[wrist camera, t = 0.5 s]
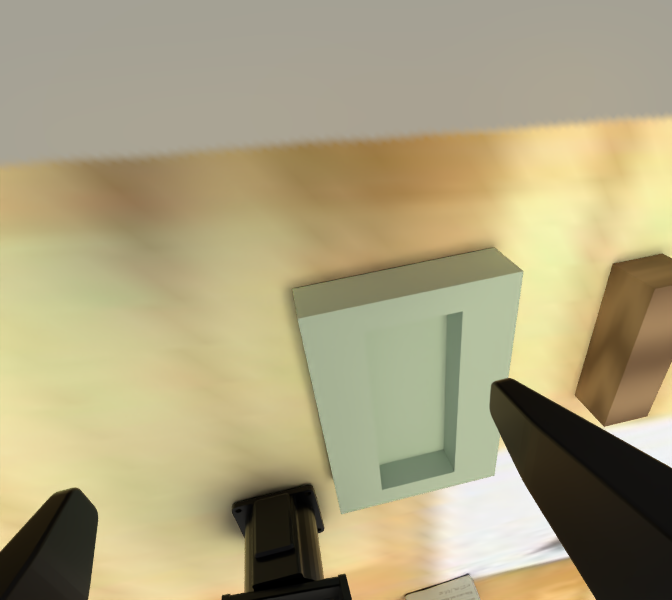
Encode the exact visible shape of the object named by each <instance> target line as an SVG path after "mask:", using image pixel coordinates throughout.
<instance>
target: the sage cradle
mask: <svg viewBox="0 0 672 600" xmlns="http://www.w3.org/2000/svg"><path fill="white" fill-rule="evenodd" d="M522 278H523V270H521V269H520V268H519V267H518V266H517V265H515V264H514V263H513V262H512V261H510V260H509V259H508V258H507V257H506V256H504V255H503V254H502V253H501V252H499V251H498V250H497V249H496V248H495V247H494V248H489V249H484V250H480V251H475V252H470V253H465V254H460V255H455V256H450V257H445V258H440V259H436V260H431V261H426V262H421V263H416V264H411V265H406V266H401V267H397V268H392V269H387V270H382V271H377V272H372V273H367V274H362V275H357V276H353V277H348V278H343V279H338V280H333V281H328V282H323V283H318V284H314V285H309V286H304V287H299V288H294V289H292V290H293V296H294V302H295V307H296V313H297V319H298V323H299V328H300V332H301V337H302V341H303V346H304V350H305V355H306V359H307V363H308V368H309V372H310V377H311V381H312V386H313V390H314V395H315V399H316V404H317V408H318V413H319V417H320V422H321V426H322V431H323V435H324V440H325V444H326V449H327V453H328V457H329V462H330V466H331V471H332V475H333V480H334V484H335V489H336V493H337V498H338V502H339V507H340V511H341V514H344V513H348V512H352V511H356V510H360V509H364V508H368V507H372V506H376V505H380V504H384V503H388V502H392V501H396V500H400V499H404V498H408V497H411V496H415V495H419V494H423V493H427V492H431V491H435V490H439V489H443V488H447V487H451V486H455V485H459V484H463V483H467V482H471V481H475V480H479V479H483V478H487V477H491V476H494V474H495V467H496V460H497V453H498V446H499V439H500V433H499V431H498V429H497V427H496V425H495V423H494V421H493V419H492V416H491V414H490V409H489V403H490V389H491V384H492V383H493V382H494V381H497V380H501V379H505V378H508V376H509V369H510V362H511V355H512V348H513V341H514V334H515V327H516V320H517V313H518V306H519V299H520V292H521V285H522Z"/></svg>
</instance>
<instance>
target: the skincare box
mask: <svg viewBox="0 0 672 600" xmlns="http://www.w3.org/2000/svg"><path fill="white" fill-rule="evenodd" d="M405 599H406V600H480V597H479V595H478V592H477V590H476V587H475V584H474V582H473V579H472V578H471V577H470V575H467V576H463V577H461V578H458V579H455V580H452V581H449V582H446V583H443V584H440V585H437V586H434V587H432V588H429V589H426V590H423V591H419V592H415V593H411V594H408V595H406V597H405Z"/></svg>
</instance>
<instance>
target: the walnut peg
mask: <svg viewBox="0 0 672 600" xmlns="http://www.w3.org/2000/svg"><path fill="white" fill-rule="evenodd" d="M671 362H672V258H670V257H668V256H666V255H664V254H658V255H653V256H648V257H644V258H639V259H634V260H629V261H624V262H619V263H614V264H613V265H612V268H611V272H610V275H609V279H608V282H607V285H606V289H605V292H604V296H603V299H602V303H601V306H600V310H599V313H598V317H597V320H596V323H595V327H594V330H593V334H592V337H591V341H590V344H589V348H588V351H587V355H586V358H585V362H584V365H583V368H582V372H581V375H580V379H579V382H578V386H577V389H576V393H575V396H576V397H577V398H578V399H579V400H580V401H581V403H582V404H583V405H584V406H585V407H586V408H587V409H588V410H589V411H590V412H591V413H592V414H593V415H594V416H595V418H596V419H597V420H598V421H599V422H600V423H601V424H602V425H603V426H604V427H605V426H609V425H613V424H617V423H621V422H625V421H630V420H634V419H638V418H642V417H646V416H648V413H649V411H650V409H651V407H652V404H653V402H654V400H655V398H656V395H657V393H658V391H659V389H660V387H661V384H662V382H663V380H664V378H665V375H666V373H667V371H668V369H669V367H670V364H671Z"/></svg>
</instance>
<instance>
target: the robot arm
mask: <svg viewBox="0 0 672 600" xmlns="http://www.w3.org/2000/svg"><path fill="white" fill-rule="evenodd" d="M489 409H490V414H491V416H492V419H493V421H494V423H495V425H496V427H497V429H498V431H499V433H500V435H501V437H502V439H503V441H504V444H505V446H506V448H507V450H508V452H509V454H510V456H511V458H512V460H513V462H514V464H515V466H516V468H517V470H518V472H519V474H520V476H521V478H522V480H523V482H524V484H525V485H526V487H527V489H528V490H529V492H530V494H531V495H532V497H533V499H534V500H535V502H536V503H537V505H538V507H539V508H540V510H541V511H542V513H543V515H544V516H545V518H546V520H547V521H548V523H549V524H550V526H551V528H552V529H553V531H554V532H555V534H556V536H557V537H558V539H559V541H560V542H561V544H562V545H563V547H564V549H565V550H566V552H567V553H568V555H569V557H570V558H571V560H572V562H573V563H574V565H575V566H576V568H577V570H578V571H579V573H580V574H581V576H582V578H583V579H584V581H585V582H586V584H587V586H588V587H589V589H590V591H591V592H592V594H593V595H594V597H595V599H596V600H672V468H671V467H669V466H667V465H666V464H664V463H662V462H660V461H659V460H657V459H655V458H653V457H651V456H650V455H648V454H646V453H644V452H642V451H641V450H639V449H637V448H635V447H634V446H632V445H630V444H628V443H626V442H625V441H623V440H621V439H619V438H618V437H616V436H614V435H612V434H610V433H609V432H607V431H605V430H603V429H601V428H600V427H598V426H596V425H594V424H593V423H591V422H589V421H587V420H585V419H584V418H582V417H580V416H578V415H576V414H575V413H573V412H571V411H569V410H568V409H566V408H564V407H562V406H560V405H559V404H557V403H555V402H553V401H551V400H550V399H548V398H546V397H544V396H543V395H541V394H539V393H537V392H535V391H534V390H532V389H530V388H528V387H526V386H525V385H523V384H521V383H519V382H518V381H516V380H514V379H511V378H505V379H501V380H497V381H494V382H493V383H492V384H491V389H490V403H489ZM232 513H233V515H234V517H235V519H236V521H237V523H238V525H239V527H240V530H241V532H242V534H243V536H244V538H245V591H244V593H240V594H235V595H230V594H226V595H222V600H352V598H351V594H350V590H349V586H348V582H347V578H346V574H341V575H338V577H332V578H326V579H324V575H323V568H322V561H321V554H320V547H319V540H318V533H321V532H323V531H324V524H323V520H322V517H321V513H320V509H319V506H318V502H317V498H316V495H315V491H314V488H313V486H311V485H306V486H302V487H298V488H294V489H290V490H286V491H282V492H278V493H274V494H270V495H266V496H261V497H257V498H253V499H249V500H245V501H241V502H237V503H234V504H233V505H232ZM97 526H98V512H97V510H96V508H95V506H94V505H93V504H92V503H91V501H90V500H89V499H88V498H87V497H86V496H85V494H84V493H83V492H82V491H81V490H80V489H78V488H70V489H66V490H62V491H59V492H56V493H54V494H53V495H52V496H51V497H50V498H49V499H48V500H47V501H46V502H45V503H44V504H43V505H42V507H41V508H40V509H39V510H38V511H37V512H36V513H35V514H34V515H33V516H32V518H31V519H30V520H29V521H28V522H27V523H26V524H25V525H24V526H23V527H22V528H21V530H20V531H19V532H18V533H17V534H16V535H15V536H14V537H13V538H12V539H11V541H10V542H9V543H8V544H7V545H6V546H5V547H4V548H3V549H2V550H1V551H0V600H88V596H89V590H90V583H91V574H92V566H93V558H94V550H95V542H96V534H97Z"/></svg>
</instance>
